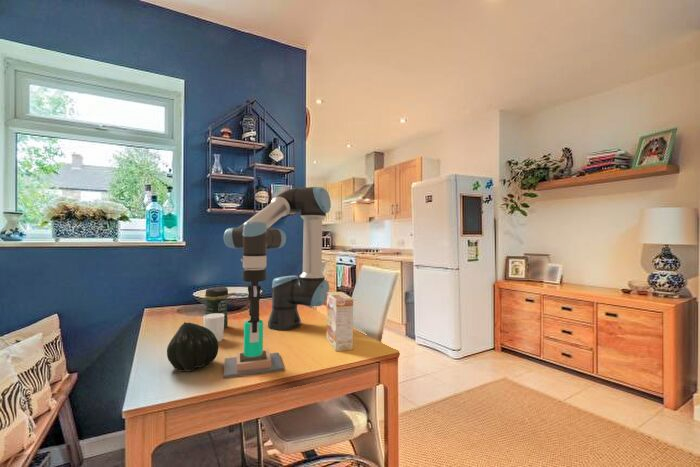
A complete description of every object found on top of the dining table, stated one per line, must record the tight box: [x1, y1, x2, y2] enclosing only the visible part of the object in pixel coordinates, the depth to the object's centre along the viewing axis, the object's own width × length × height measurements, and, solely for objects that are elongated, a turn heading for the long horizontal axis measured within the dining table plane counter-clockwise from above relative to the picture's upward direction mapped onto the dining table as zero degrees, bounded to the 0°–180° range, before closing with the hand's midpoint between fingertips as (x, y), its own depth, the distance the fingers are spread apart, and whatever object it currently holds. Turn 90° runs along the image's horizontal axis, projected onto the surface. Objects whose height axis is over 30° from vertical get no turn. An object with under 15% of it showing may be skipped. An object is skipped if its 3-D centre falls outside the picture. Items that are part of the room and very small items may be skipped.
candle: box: [243, 319, 264, 357], centre depth 108 cm, size 6×6×12 cm
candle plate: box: [222, 348, 285, 379], centre depth 108 cm, size 18×14×3 cm
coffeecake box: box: [325, 291, 354, 352], centre depth 130 cm, size 15×7×20 cm, turn 18°
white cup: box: [203, 313, 225, 343], centre depth 133 cm, size 8×8×10 cm
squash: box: [166, 321, 219, 372], centre depth 107 cm, size 14×15×15 cm
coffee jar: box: [204, 286, 229, 329], centre depth 150 cm, size 10×8×19 cm
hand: (253, 338), depth 108 cm, fingers closed on candle, 6 cm apart
